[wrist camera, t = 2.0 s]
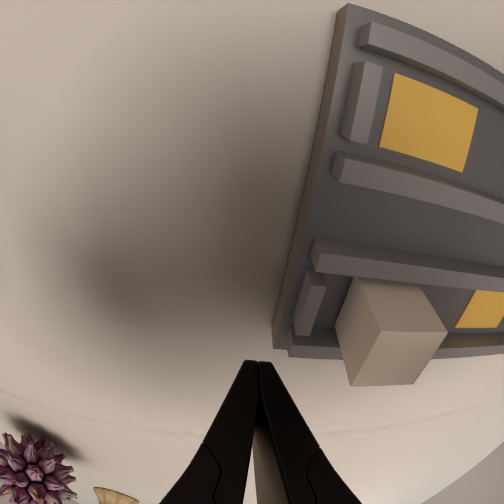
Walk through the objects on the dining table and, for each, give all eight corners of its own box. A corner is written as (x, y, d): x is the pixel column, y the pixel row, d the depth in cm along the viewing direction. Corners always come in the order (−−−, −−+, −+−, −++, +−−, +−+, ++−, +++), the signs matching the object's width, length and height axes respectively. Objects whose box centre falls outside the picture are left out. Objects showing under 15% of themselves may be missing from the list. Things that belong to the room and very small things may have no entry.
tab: (414, 278, 13) (448, 332, 10) (389, 328, 14) (413, 383, 11) (355, 271, 13) (381, 331, 10) (334, 325, 14) (350, 386, 11)
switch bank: (570, 136, 10) (600, 149, 8) (487, 335, 17) (504, 361, 15) (337, 11, 9) (358, -6, 7) (271, 327, 16) (274, 367, 14)
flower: (105, 465, 30) (87, 543, 19) (43, 452, 31) (23, 516, 21) (47, 417, 24) (14, 511, 14) (-10, 405, 25) (-41, 477, 15)
